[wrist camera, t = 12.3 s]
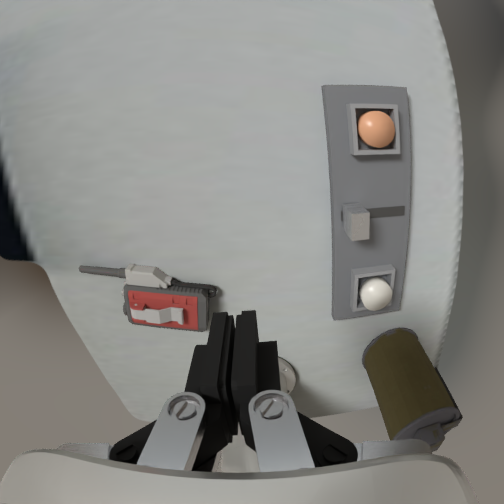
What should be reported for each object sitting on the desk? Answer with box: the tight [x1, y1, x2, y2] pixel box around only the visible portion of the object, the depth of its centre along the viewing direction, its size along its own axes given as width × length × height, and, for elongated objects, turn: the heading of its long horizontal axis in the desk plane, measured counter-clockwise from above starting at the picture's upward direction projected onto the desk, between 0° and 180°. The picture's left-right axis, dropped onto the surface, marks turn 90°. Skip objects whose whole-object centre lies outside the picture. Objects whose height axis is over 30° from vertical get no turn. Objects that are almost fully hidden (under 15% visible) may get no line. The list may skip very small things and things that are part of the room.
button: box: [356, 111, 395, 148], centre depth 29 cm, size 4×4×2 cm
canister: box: [362, 328, 462, 452], centre depth 36 cm, size 11×10×20 cm
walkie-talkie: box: [79, 264, 217, 332], centre depth 39 cm, size 9×4×20 cm
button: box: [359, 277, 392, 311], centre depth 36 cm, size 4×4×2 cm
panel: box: [321, 85, 411, 320], centre depth 34 cm, size 30×10×3 cm, turn 7°
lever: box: [343, 203, 370, 241], centre depth 32 cm, size 2×3×4 cm, turn 7°
